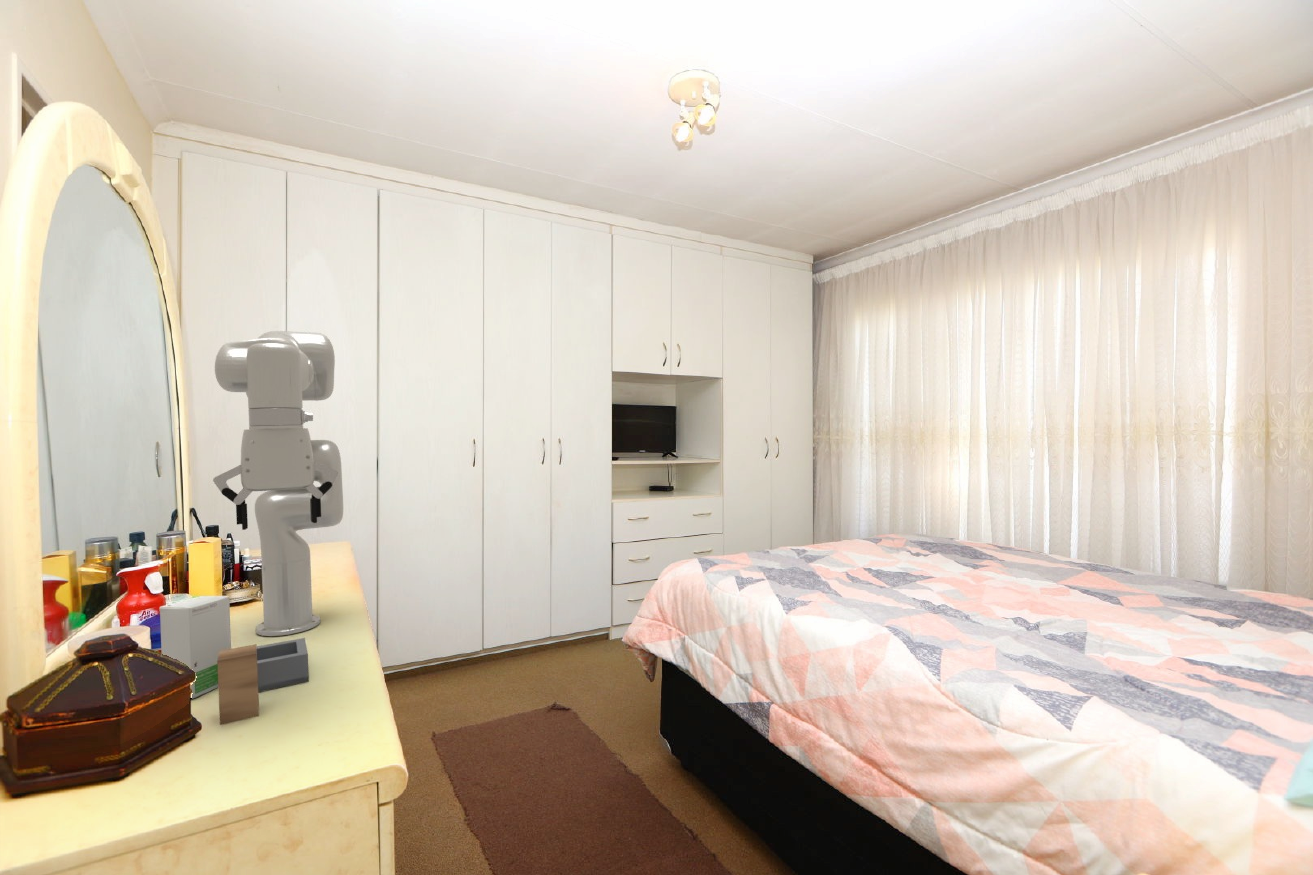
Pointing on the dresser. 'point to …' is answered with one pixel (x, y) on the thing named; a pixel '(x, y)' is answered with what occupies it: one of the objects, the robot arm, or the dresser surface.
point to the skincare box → (197, 636)
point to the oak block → (238, 684)
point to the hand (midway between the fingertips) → (280, 525)
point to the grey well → (282, 664)
